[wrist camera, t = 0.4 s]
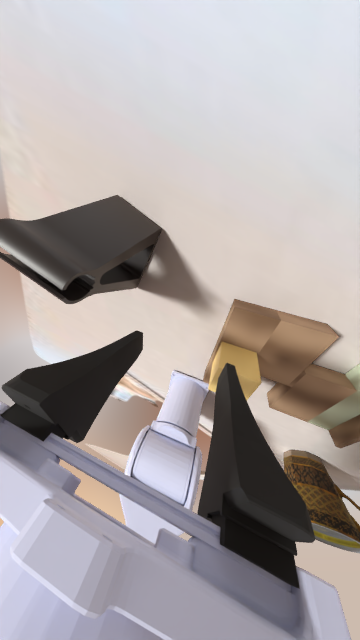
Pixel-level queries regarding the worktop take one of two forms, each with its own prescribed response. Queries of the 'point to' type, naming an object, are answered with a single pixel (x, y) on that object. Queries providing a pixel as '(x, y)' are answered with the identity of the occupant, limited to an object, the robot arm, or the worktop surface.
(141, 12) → the worktop surface
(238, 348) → the block
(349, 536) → the ceramic cup
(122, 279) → the phone stand
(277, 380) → the box
